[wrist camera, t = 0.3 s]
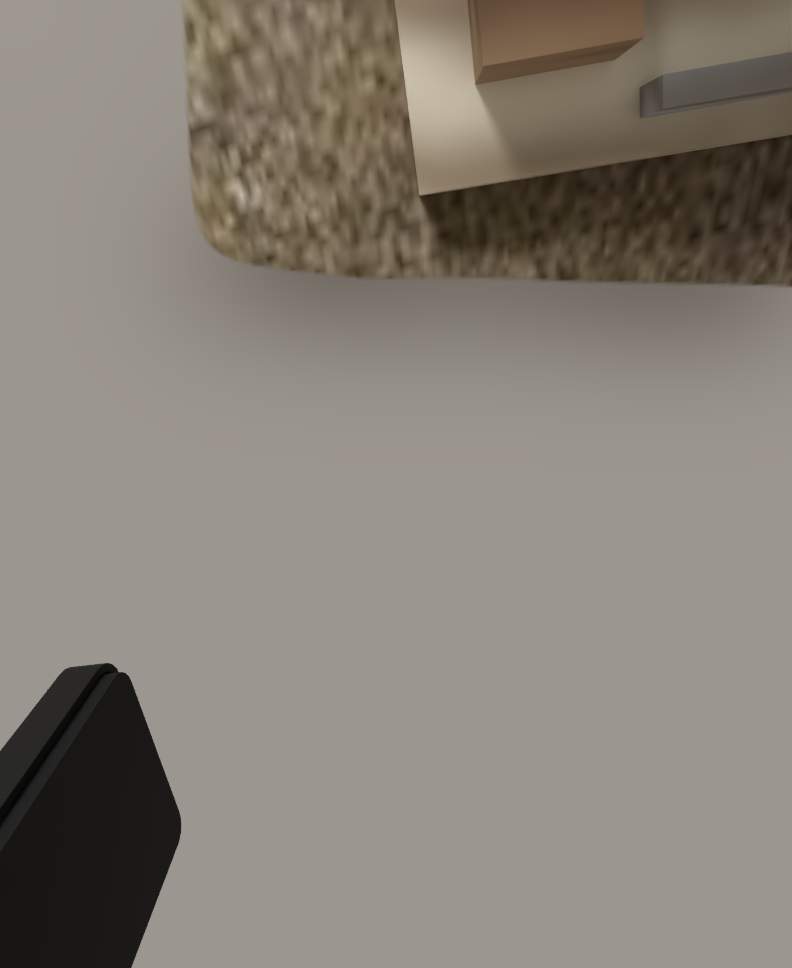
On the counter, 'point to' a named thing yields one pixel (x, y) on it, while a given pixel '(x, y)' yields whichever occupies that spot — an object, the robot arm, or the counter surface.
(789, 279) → the counter surface
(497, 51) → the walnut block
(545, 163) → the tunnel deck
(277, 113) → the counter surface
